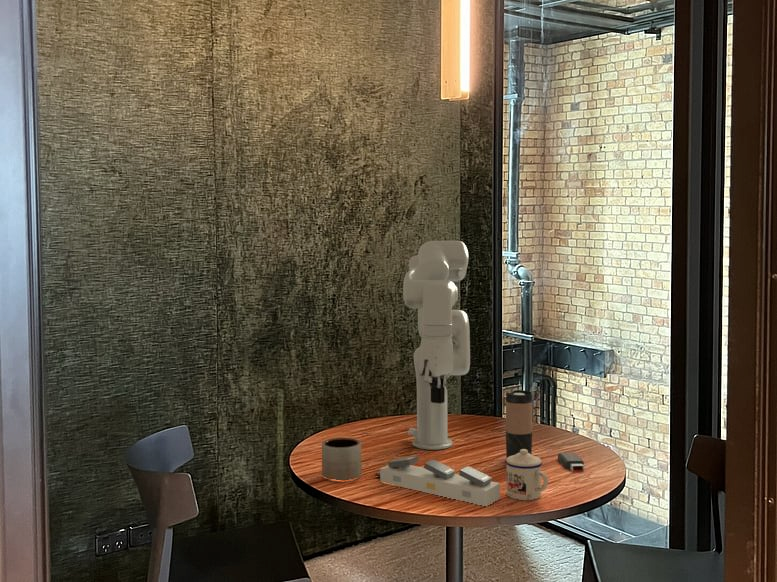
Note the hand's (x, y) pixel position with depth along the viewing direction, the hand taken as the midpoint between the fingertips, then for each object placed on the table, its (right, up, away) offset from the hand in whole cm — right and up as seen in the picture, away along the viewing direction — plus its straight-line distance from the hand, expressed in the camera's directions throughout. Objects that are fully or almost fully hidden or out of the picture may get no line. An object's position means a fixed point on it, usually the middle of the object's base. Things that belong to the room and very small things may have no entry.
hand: (437, 402), depth 196 cm
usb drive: (+40, -22, +23) cm, 51 cm away
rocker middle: (0, -18, +1) cm, 18 cm away
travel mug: (+25, -21, +28) cm, 43 cm away
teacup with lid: (+22, -23, -4) cm, 33 cm away
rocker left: (-9, -18, +8) cm, 21 cm away
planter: (-25, -23, +14) cm, 37 cm away
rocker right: (+9, -18, -5) cm, 21 cm away
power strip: (-1, -23, +3) cm, 23 cm away
